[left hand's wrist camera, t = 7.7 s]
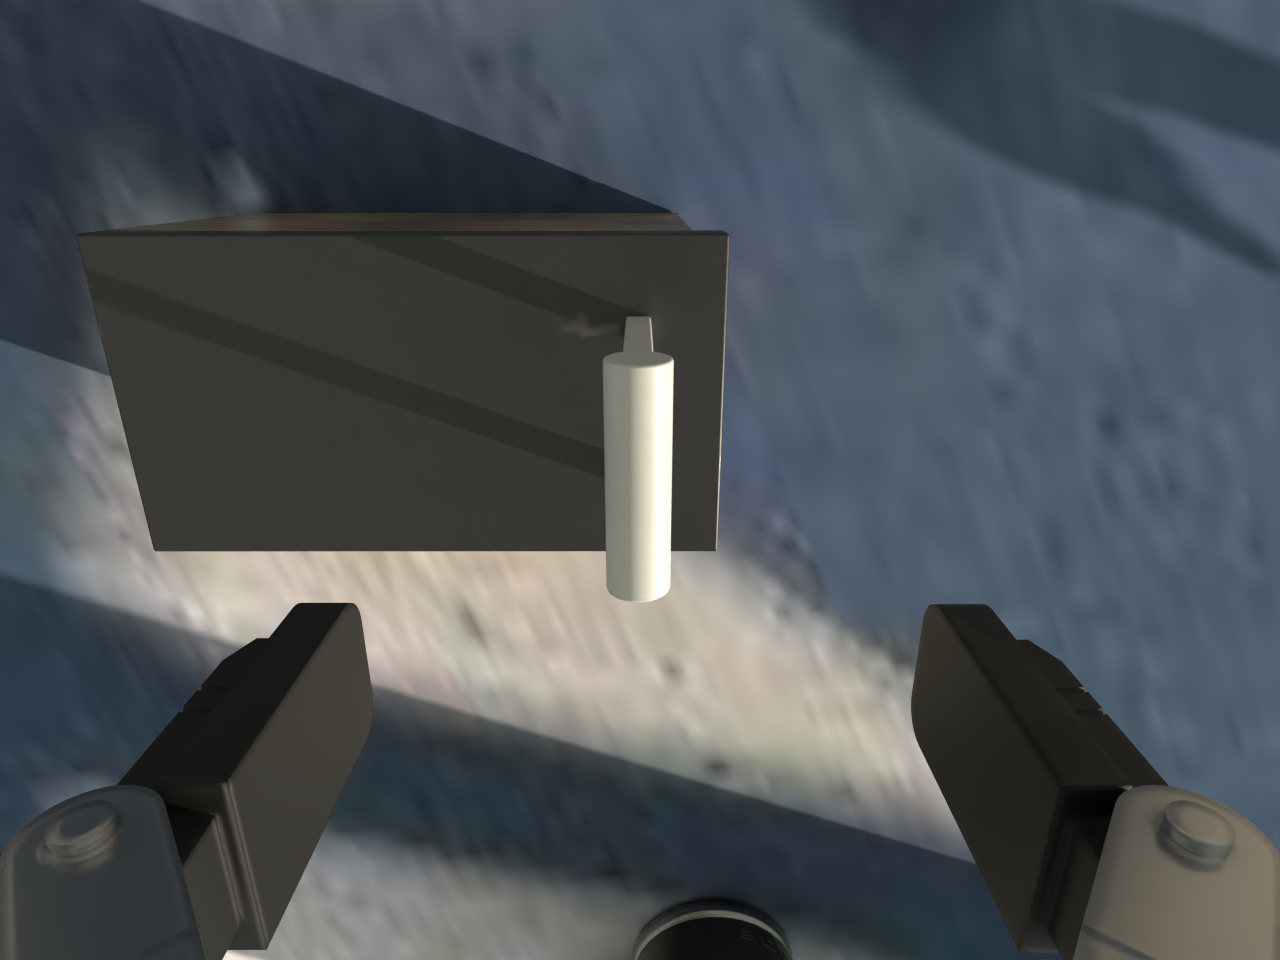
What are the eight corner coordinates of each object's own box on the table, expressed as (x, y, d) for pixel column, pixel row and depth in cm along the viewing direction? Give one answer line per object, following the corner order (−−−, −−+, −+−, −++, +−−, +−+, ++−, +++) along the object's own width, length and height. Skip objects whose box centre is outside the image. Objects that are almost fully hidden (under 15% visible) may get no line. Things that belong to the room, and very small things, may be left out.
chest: (678, 213, 32) (693, 230, 23) (674, 439, 36) (686, 534, 26) (258, 212, 32) (104, 230, 23) (296, 440, 36) (176, 534, 26)
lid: (725, 230, 23) (768, 259, 15) (714, 534, 26) (744, 680, 19) (103, 230, 23) (-160, 259, 15) (175, 534, 26) (-10, 680, 19)
